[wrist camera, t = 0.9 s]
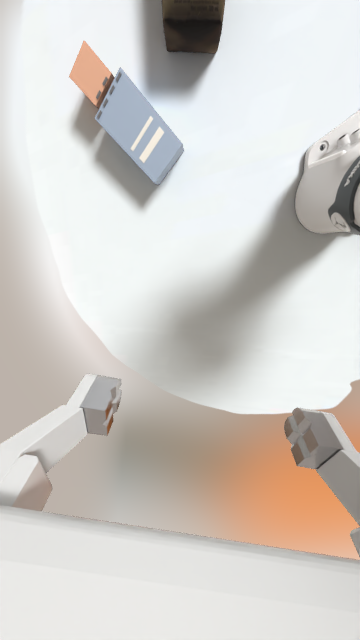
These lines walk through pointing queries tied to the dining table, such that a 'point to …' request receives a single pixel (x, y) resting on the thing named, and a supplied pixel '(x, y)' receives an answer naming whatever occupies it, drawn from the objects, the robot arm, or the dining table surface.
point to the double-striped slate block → (138, 128)
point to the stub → (91, 75)
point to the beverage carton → (192, 25)
